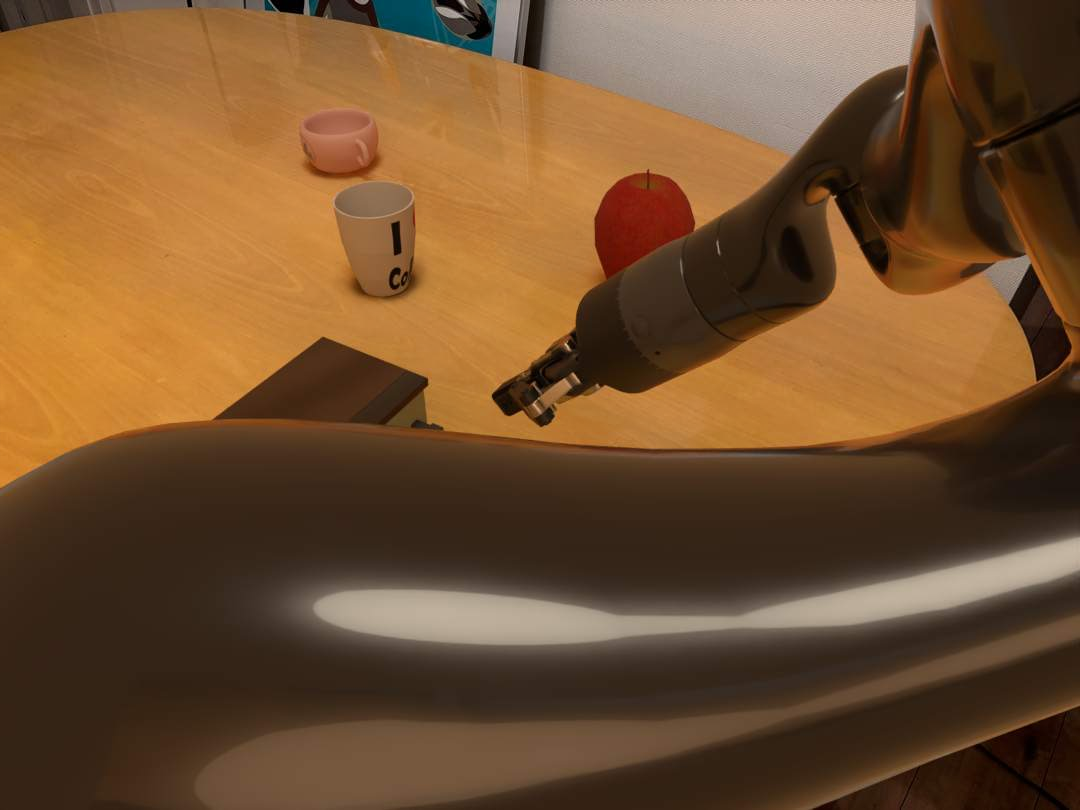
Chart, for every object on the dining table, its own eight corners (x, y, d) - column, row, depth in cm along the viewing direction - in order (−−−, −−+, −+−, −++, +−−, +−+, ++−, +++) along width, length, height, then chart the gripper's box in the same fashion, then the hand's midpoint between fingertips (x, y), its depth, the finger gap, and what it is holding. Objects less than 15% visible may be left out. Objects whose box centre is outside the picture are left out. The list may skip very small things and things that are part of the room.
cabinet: (440, 499, 71) (428, 377, 63) (303, 646, 60) (267, 522, 52) (345, 456, 75) (322, 336, 67) (201, 587, 64) (153, 463, 56)
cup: (402, 310, 91) (392, 223, 85) (332, 296, 93) (317, 210, 87) (434, 271, 97) (427, 187, 91) (368, 258, 99) (356, 175, 93)
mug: (291, 161, 118) (283, 118, 114) (356, 142, 123) (351, 100, 119) (336, 194, 111) (329, 149, 107) (403, 172, 116) (399, 128, 112)
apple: (677, 324, 90) (693, 199, 81) (581, 308, 92) (586, 185, 83) (692, 272, 97) (708, 152, 88) (603, 258, 99) (610, 140, 90)
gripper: (657, 422, 50) (485, 493, 63) (741, 310, 59) (575, 392, 72) (578, 318, 49) (419, 411, 62) (676, 219, 58) (519, 319, 70)
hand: (503, 401), depth 67 cm, fingers closed
